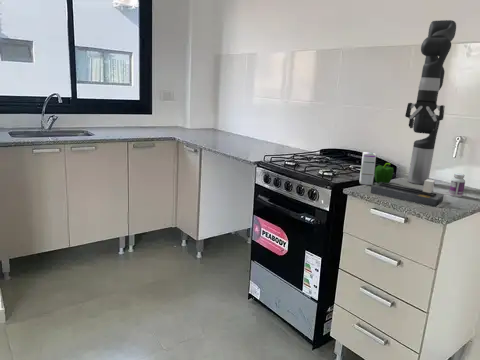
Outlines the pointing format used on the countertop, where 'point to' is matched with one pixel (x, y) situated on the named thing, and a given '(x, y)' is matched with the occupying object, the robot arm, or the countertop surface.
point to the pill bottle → (457, 185)
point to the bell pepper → (383, 173)
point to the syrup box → (367, 168)
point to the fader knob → (428, 186)
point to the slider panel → (407, 194)
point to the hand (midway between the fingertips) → (421, 129)
